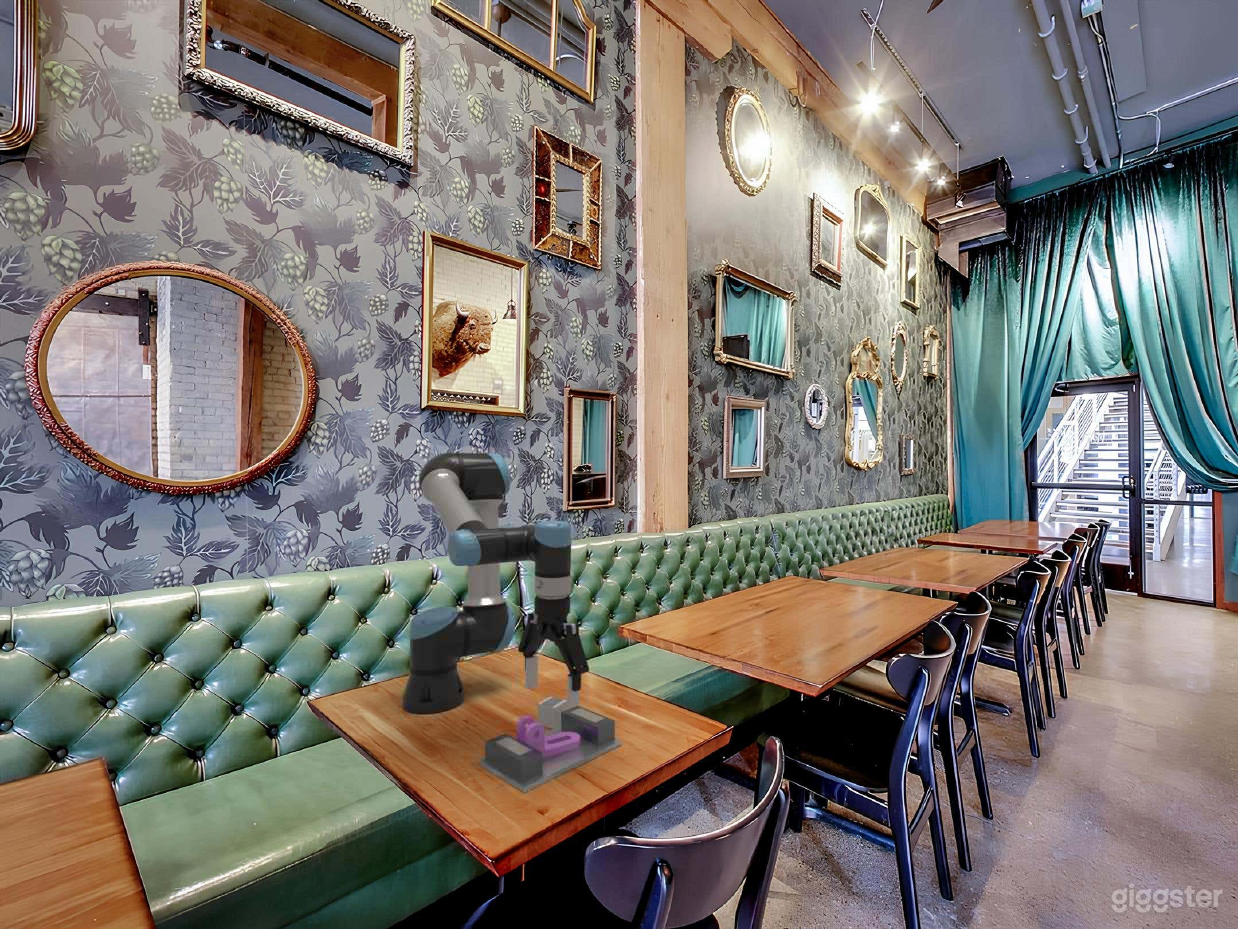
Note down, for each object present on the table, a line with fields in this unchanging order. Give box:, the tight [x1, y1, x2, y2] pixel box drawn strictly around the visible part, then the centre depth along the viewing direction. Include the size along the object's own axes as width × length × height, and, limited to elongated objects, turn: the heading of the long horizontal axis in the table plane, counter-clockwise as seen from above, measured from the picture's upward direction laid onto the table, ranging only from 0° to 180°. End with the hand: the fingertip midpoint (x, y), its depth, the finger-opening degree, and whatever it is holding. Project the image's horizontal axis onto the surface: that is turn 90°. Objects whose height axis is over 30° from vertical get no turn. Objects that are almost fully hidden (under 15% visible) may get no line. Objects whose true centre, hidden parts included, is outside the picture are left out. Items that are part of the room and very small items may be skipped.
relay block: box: [537, 696, 568, 730], centre depth 137 cm, size 5×5×5 cm
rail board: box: [478, 705, 622, 794], centre depth 121 cm, size 15×26×5 cm, turn 136°
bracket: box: [516, 714, 580, 758], centre depth 121 cm, size 13×6×7 cm, turn 123°
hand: (551, 696), depth 122 cm, fingers open, 13 cm apart
